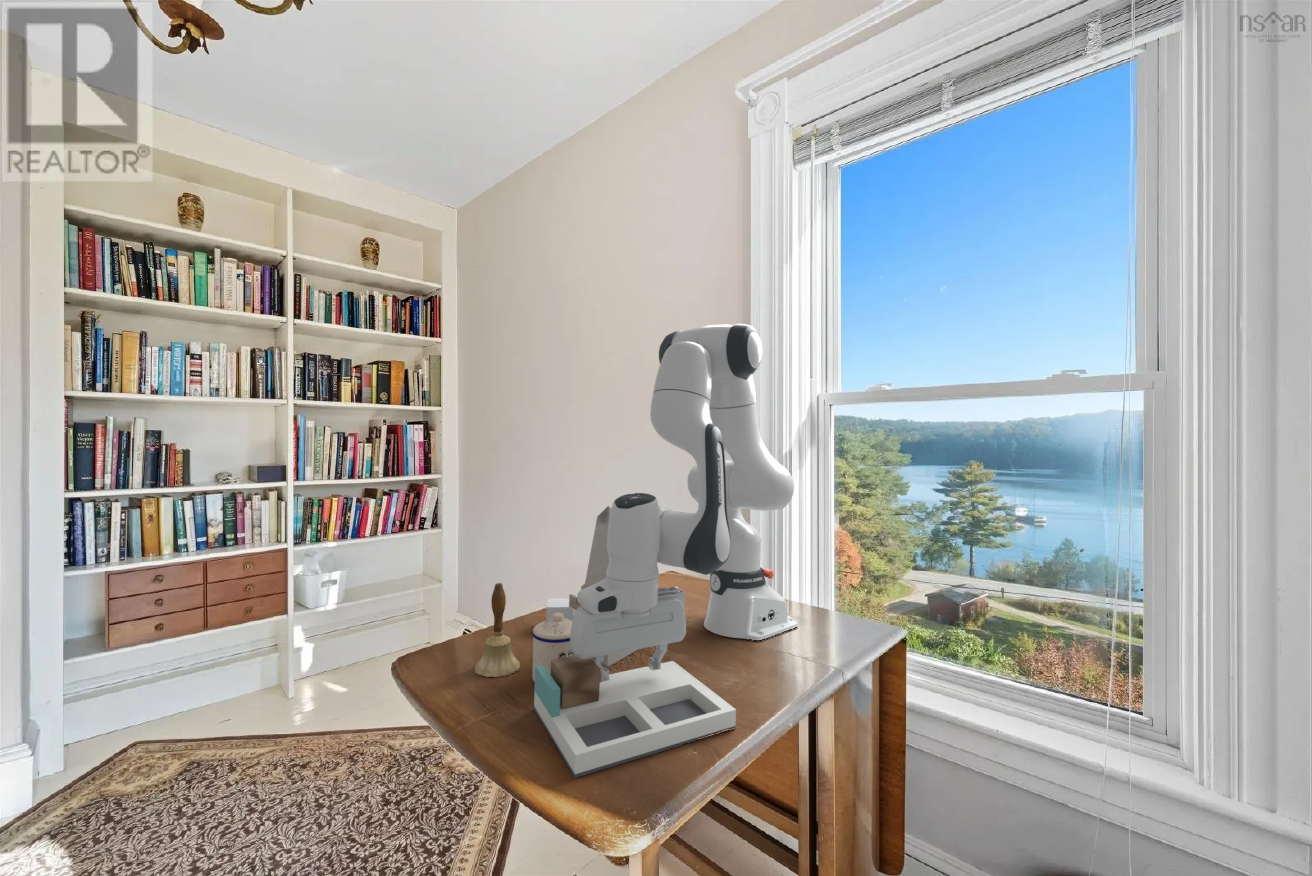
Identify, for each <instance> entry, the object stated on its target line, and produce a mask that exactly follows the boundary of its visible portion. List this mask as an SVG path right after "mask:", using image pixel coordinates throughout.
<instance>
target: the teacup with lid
mask: <svg viewBox="0 0 1312 876" xmlns="http://www.w3.org/2000/svg"><path fill="white" fill-rule="evenodd" d="M571 627H572V620H569V619H567V618H564V615H563V614H562V613H555V614H553V618H551V619H549V620H547V621H546V620H544V621H541V622H540V623H537V624H535V626H534V628H533V629H532V632H531V635H532V637H533V638H532V640H533V641H532V677H531V678H532V681H533V682H534V683H535V666H537V665H543V666H544V667H545V669H546V670H547V671H548V673H549V674H550V673H551V660H553V659H559V658H566V657H572V656H576V655H575V654H574V653H573V652H572V650H571V648H570V636H571Z"/></svg>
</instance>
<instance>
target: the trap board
mask: <svg viewBox="0 0 1312 876" xmlns="http://www.w3.org/2000/svg"><path fill="white" fill-rule="evenodd" d="M533 695H534V696H533V697H534V698H533V699H534V701H533V704H534V705H533V710H534V712H535V713H536V715H537V717H538V718H539V720H540V722H541V723H542V725H543V727H544V728H545V730H546V731H547V734H548V735H549V737H550V739H551V740H552V742H553V744H554V745H555V747H556V748H557V750H558V752H559V753H560V756H561V757H562V759H563V760H564V762H565V763H566V765H567V767H568V769H569V771H570V772H571V774H572V776H573V777H574V778H575V779H577V778H580V777H584V776H586V775H587V776H588V775H589V774H592V773H593V774H594V773H597V772H600V771H603V770H605V769H610V768H612V767H616V766H619V765H622V764H626V763H629V762H632V761H635V760H638V759H642V758H645V757H649V756H651V755H655V754H658V753H662V752H664V751H668V750H671V748H672V749H676V748H678V747H681V746H684V745H683V744H685V743H688V744H691V743H693V742H692V741H694V740H696V739H698V738H702V737H705V736H708V735H711V734H716V733H718V732H721V731H723V730H726V729H732V728H735V727H736V721H737V720H736V719H737V709H736V708H735V707H733V706H732V705H731V704H730V703H728V702H727V701H726V700H724V699H723V698H722V697H721V696H719V694H717V693H715V692H714V691H713V690H711V689H710V688H709V687H708V686H706V685H705V684H704V683H702V682H701V681H700V680H698V679H697V678H696V677H695V676H693V675H692V674H691V673H690V672H688V671H686V670H685V669H684V668H683V667H681V666H680V665H679V664H678V663H677V662H675V661H674V660H671V661H666V662H661V668H660V670H655V671H652V670H651V669H649V666H644V667H639V668H634V669H628V670H624V671H619V672H614V673H609V680H608V681H604V682H600V687H599V701H595V702H590V703H585V704H580V705H576V706H571V707H566V708H561V706H560V688H559V686H558V685H557V684H556V682H555V681H554V680H553V678H552V677H551V676H550V674H549V673H548V671H547V670H546V669H545V667H544V666H543V665H537V666H535V682H534V694H533ZM736 728H737V727H736ZM690 742H691V743H690ZM694 742H695V741H694ZM685 745H686V744H685Z"/></svg>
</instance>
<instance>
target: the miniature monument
mask: <svg viewBox="0 0 1312 876" xmlns="http://www.w3.org/2000/svg"><path fill="white" fill-rule="evenodd" d="M611 508H612V507H610V505H607V507H605V509H603V510H602V511H601V512H600V513H599V514H598V515H597V516H596V520H595V521H596V522H595V527H594V533H593V539H592V544H591V547H590V548H591V549H590V553H589V559H588V564H587V570H586V575H585V576H586V577H585V581H584V584H582V585H581V586H580V591H581V590H582V589H585V588H587V587H589V586H591V585H593V584H596V583H598V582H600V581H601V580H603V579H605V578H606V571H607V567H608V564H609V555H608V551H607V535H608V524H609V517H610V512H611ZM568 595H569V596H568V597H569V598H568V599H569V607H572V608H574V610H575V611H576V610H577V608H579V607H580V606H581V605H580V604H579V603H578V601H577V596H576V595H574V594H570V593H569V594H568ZM637 651H638V649H636V650H631V651H625V652H620V653H615V654H609V655H604V661H603V662H600V663H601V665H602V666H603V667H604V666H605V667H606V668H607V667H610V666H612V665H614V664H615V663H617V662H619V661H620V660H622V659H625V658H626V657H628V656H629V655H632V654H633V653H635V652H637ZM590 659H591V658H590ZM591 660H592V659H591Z"/></svg>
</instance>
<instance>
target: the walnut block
mask: <svg viewBox="0 0 1312 876" xmlns="http://www.w3.org/2000/svg"><path fill="white" fill-rule="evenodd" d="M600 670H601V669H600V668H599V667H598V666H597V665H596V664H595V663H594V662H593V661H592V660H591V659H590V658H588V659H583V660H581V659H579V658H578V657H577V656H572V657H566V658H559V659H553V660H551V673H550V676H551V677H552V678H553V680H554V681H555V682H556V684H557V685H558V686H559V688H560V706H561V708H566V707H571V706H576V705H580V704H585V703H590V702H595V701H599V687H600Z"/></svg>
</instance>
